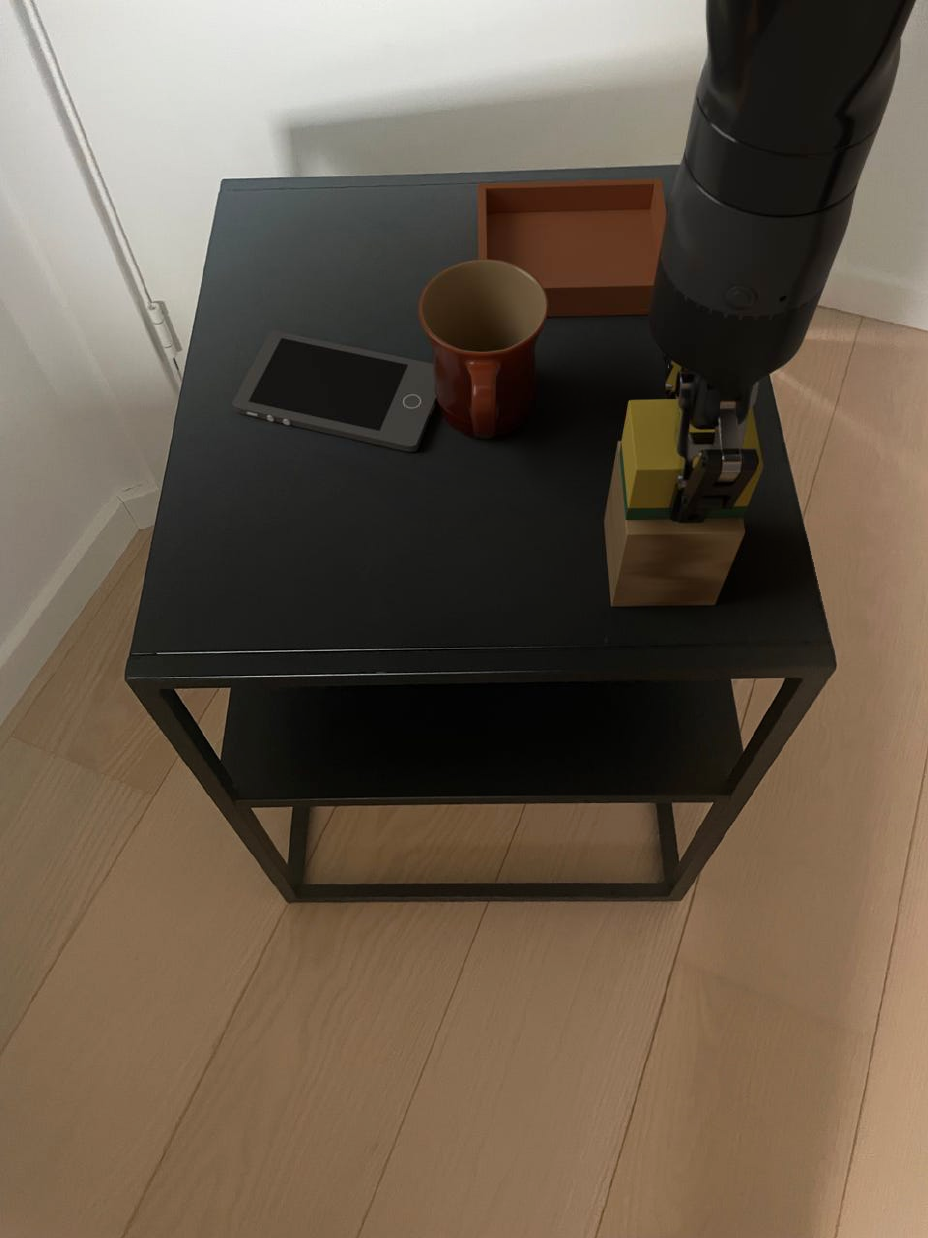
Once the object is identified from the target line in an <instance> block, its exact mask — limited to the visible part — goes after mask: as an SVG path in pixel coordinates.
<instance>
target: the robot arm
mask: <svg viewBox="0 0 928 1238" xmlns="http://www.w3.org/2000/svg"><path fill="white" fill-rule="evenodd" d="M916 2H917V0H705V4H704V5H705V7H704V9H705V10H704V11H705V12H704V13H705V16H704V17H705V33H706V43H707V44H706V49H705V51H704V54H703V59H702V62H701V66H700V71H699V75H698V78H697V82H696V83H697V84H696V88H695V94H694V99H693V104H692V109H691V115H690V120H689V125H688V130H687V135H686V140H685V147H684V150H683V151H684V152H683V156H682V158H681V161H680V165H679V167H678V169H677V174H675V175H676V176H675V178H674V181H673V184H672V188H671V192H670V196H669V200H668V204H667V208H666V211H667V215H666V220H665V225H664V231H663V236H662V242H661V247H660V252H659V258H658V263H657V268H656V274H655V279H654V285H653V290H652V296H651V301H650V307H649V315H648V324H649V325H648V326H649V330H650V333H651V334H652V338H653V339H654V341H655V344H657V346H658V348H659V349H660V350H661V351H662V360H663V361H664V366H665V382H664V384H663V385H664V387H663V388H664V392H665V395H666V397H667V398H666V399H677V402H678V407H677V415H676V422H675V430H674V437H673V439H674V443H675V446H676V450H677V453H678V454H679V455H680V461H679V469H678V474H677V475H676V484H675V488H674V491H673V495H672V498H671V502H670V506H669V515H670V520H671V521H674V522H678V523H703V522H704V521H705V519H707V517H708V515H709V512H710V510H720V509H732V507H733V506H734V504H735V503H736V501H737V500H738V498H739V497H740V495H741V494H742V492H743V491H744V489H745V488H746V486H747V485H748V483H749V482H750V480H751V478H752V477H753V475H754V474H755V472H756V470H757V466H758V464H759V457H758V455H757V450H756V449H755V448H753V449H742V446H743V441H744V436H745V430H746V425H747V420H748V414H749V410H750V408H751V407H754V406H755V404H756V403H757V399H758V398H757V397H758V393H759V387H760V381H762V380H763V379H765V378H766V377H768V376H770V375H771V374H773V373H774V372H776V371H778V370H779V369H782V367H784V366H785V365H786V364H788V363H789V362H791V360H792V359H793V358H794V357H795V356H796V354H797V353H798V352H799V350H800V349H801V347H802V345H803V343H804V340H805V338H806V336H807V334H808V330H809V328H810V325H811V322H812V320H813V318H814V315H815V311H816V310H817V307H818V304H819V302H820V300H821V297H822V295H823V292H824V290H825V287H826V284H827V282H828V279H829V276H830V273H831V271H832V268H833V266H834V264H835V260H836V258H837V255H838V253H839V250H840V248H841V246H842V243H843V240H844V237H845V235H846V232H847V229H848V226H849V223H850V218H851V215H852V211H853V205H854V201H855V196H856V192H857V188H858V185H859V182H860V178H861V176H862V174H863V170H864V169H865V165H866V163H867V160H868V159H869V155H870V153H871V150H872V148H873V145H874V142H875V140H876V137H877V134H878V132H879V129H880V126H881V124H882V121H883V119H884V114H886V111H887V107H888V104H889V102H890V98H891V96H892V92H893V90H894V86H895V82H896V79H897V74H898V71H899V65H900V60H901V50H902V49H901V48H902V36H903V34H904V31H905V29H906V26H907V24H908V21H909V19H910V16H911V14H912V13H913V10H914V7H915V4H916ZM690 424H691V425H692V426H693V427H694V428H696V429H699V430H715V432H689V429H690ZM697 456H698V459H699V460H698V462H697V464H696V466H695V467H692V466H693V460H694V459H695V458H696V457H697Z"/></svg>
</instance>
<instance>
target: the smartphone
mask: <svg viewBox="0 0 928 1238" xmlns="http://www.w3.org/2000/svg"><path fill="white" fill-rule="evenodd" d="M434 383H435V381H434V365H433V362H427V361H421V360H416V359H413V358H407V357H403V356H398V355H394V354H390V353H389V354H388V353H385V352H384V353H383V352H380V351H374V350H369V349H364V348H361V347H356V346H351V345H347V344H341V343H337V342H332V341H327V340H322V339H317V338H312V337H308V336H304V335H298V334H293V333H288V332H284V331H278V330H273V331H272V330H271V331H270V332H268V334H267V336H266V338H265V340H264V342H263V343H262V345H261V347H260V349H259V351H258V353H257V355H256V357H255V359H254V361H253V362H252V364H251V366H250V368H249V370H248V372H247V373H246V375H245V377H244V379H243V381H242V383H241V385H240V386H239V389H238V391H237V392H236V393H235V396H234V398H233V400H232V401H231V404H232V407H233V410H234V412H235V413H238V414H240V415H245V416H249V417H252V418H253V417H254V418H258V419H262V420H266V421H269V422H275V423H279V424H283V425H286V426H292V427H293V426H294V427H297V428H302V429H305V430H310V431H315V432H319V433H323V434H328V435H332V436H337V437H341V438H346V439H350V440H354V441H359V442H363V443H368V444H372V445H377V446H381V447H386V448H389V449H394V450H399V451H402V452H408V453H414V452H417V451H418V449H419V447H420V444H421V442H422V440H423V437H424V434H425V432H426V429H427V427H428V425H429V422H430V419H431V417H432V416H433V413H434V410H435V407H436V406H437V403H438V400H437V398H436V395H435V390H434Z"/></svg>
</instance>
